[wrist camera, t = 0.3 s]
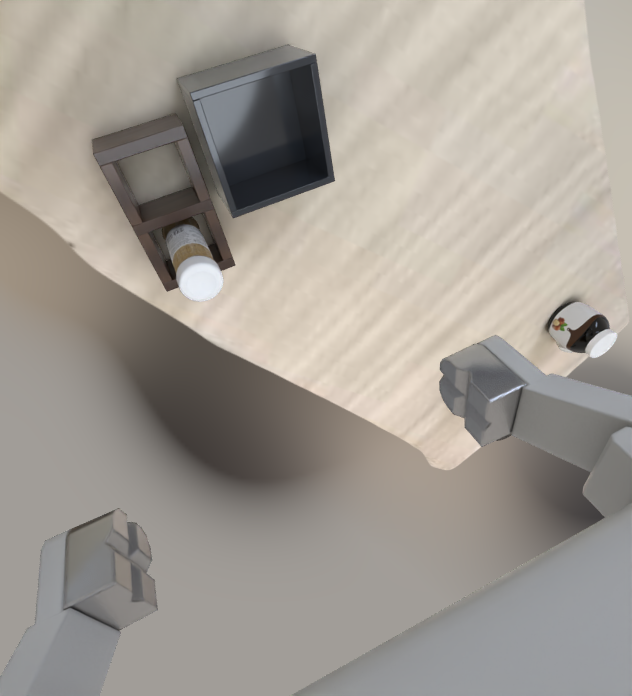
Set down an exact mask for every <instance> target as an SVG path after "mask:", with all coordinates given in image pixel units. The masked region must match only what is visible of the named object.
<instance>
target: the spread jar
mask: <svg viewBox="0 0 632 696" xmlns="http://www.w3.org/2000/svg"><path fill="white" fill-rule="evenodd" d="M548 331H549V334H550V335H551V336H552V337H553V338H554V339H555V340H556V343H557V345H558V347H559V349H560V350H562V351H564V352H577V353H586V354H588V355H589V356H590V357H592V358H595V357H598V356H600V355H602V354H604V353H605V352H606V351H607V350H608V349H610V348H611V346H612V345H613V344H614V343H615V341H616V339H617V334H616V333H615V332H613V331H612V330H610V326H609V322H608V320H607V319H606V317H605V316H604V315H602V314H601V313H600V312H598V311H597V310H595V309H594V308H592V307H590V306H589V305H587V304H585V303H582V302H570V303H567V304H565V305H563V306H561V307H560V308H558V309H557V310H556V311H555V312H554V314H553V315H552V316H551V318H550V321H549V325H548Z"/></svg>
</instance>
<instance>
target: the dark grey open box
mask: <svg viewBox="0 0 632 696" xmlns="http://www.w3.org/2000/svg"><path fill="white" fill-rule="evenodd" d="M177 81H178V84H179V87H180V90H181V93H182V95H183V98H184V101H185V104H186V106H187V109H188V112H189V115H190V118H191V120H192V123H193V126H194V129H195V132H196V134H197V137H198V140H199V143H200V146H201V148H202V151H203V154H204V157H205V160H206V162H207V165H208V168H209V171H210V174H211V176H212V179H213V182H214V185H215V188H216V190H217V193H218V195H219V196H220V198H221V200H222V201H223V203H224V205H225V206H226V208H227V209H228V211H229V213H230V214H231V216H232V217H233V218H235V217H238V216H241V215H244V214H246V213H249V212H252V211H254V210H257V209H260V208H263V207H265V206H268V205H271V204H274V203H276V202H279V201H282V200H285V199H287V198H290V197H293V196H295V195H298V194H301V193H304V192H306V191H309V190H312V189H315V188H317V187H320V186H323V185H326V184H328V183H331V182H334V181H335V178H334V172H333V165H332V159H331V152H330V146H329V139H328V132H327V126H326V119H325V112H324V106H323V99H322V93H321V86H320V79H319V73H318V66H317V60H316V54H315V53H312V52H309V51H306V50H303V49H300V48H297V47H294V46H291V45H285V46H282V47H278V48H275V49H272V50H268V51H265V52H262V53H259V54H255V55H252V56H249V57H245V58H242V59H239V60H236V61H232V62H229V63H226V64H222V65H219V66H216V67H213V68H209V69H206V70H203V71H199V72H196V73H193V74H190V75H186V76H183V77H180V78H177Z"/></svg>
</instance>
